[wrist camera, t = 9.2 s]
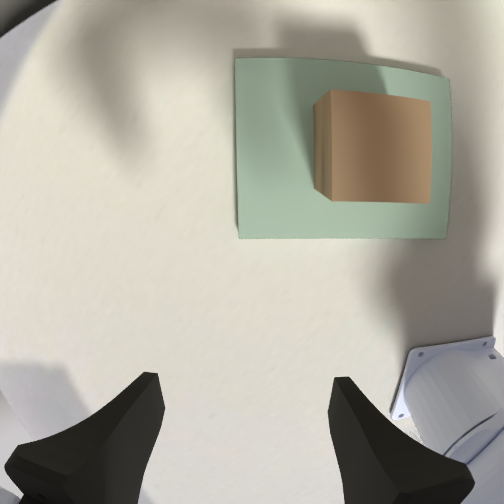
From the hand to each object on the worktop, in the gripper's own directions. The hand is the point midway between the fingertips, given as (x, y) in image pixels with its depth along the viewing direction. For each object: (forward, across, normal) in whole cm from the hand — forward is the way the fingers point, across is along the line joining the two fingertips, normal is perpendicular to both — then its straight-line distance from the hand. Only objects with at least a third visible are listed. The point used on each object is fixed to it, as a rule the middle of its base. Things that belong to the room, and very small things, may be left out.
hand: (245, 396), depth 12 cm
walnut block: (+9, -6, -10) cm, 15 cm away
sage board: (+10, -6, -10) cm, 15 cm away
